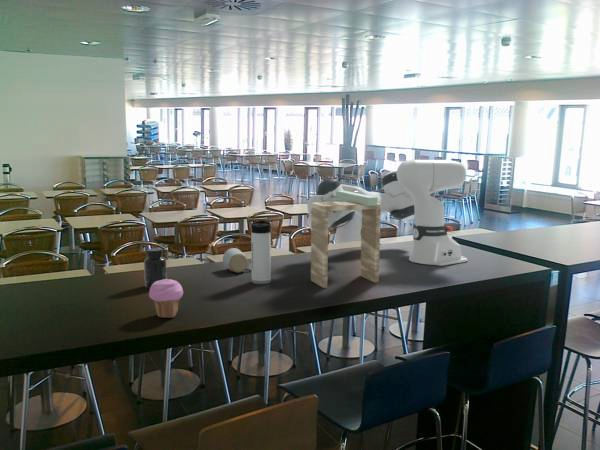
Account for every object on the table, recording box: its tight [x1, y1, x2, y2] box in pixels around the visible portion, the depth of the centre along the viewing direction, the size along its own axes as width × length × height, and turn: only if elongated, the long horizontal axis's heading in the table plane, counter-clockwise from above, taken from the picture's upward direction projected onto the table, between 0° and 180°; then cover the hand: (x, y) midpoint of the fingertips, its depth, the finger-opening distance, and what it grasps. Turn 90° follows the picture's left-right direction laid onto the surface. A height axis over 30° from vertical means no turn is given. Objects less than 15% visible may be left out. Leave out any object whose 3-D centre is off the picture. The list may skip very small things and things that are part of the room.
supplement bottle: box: [143, 247, 168, 290], centre depth 174 cm, size 7×7×12 cm
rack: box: [310, 201, 381, 289], centre depth 181 cm, size 20×10×26 cm, turn 111°
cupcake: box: [148, 278, 184, 319], centre depth 146 cm, size 9×9×10 cm
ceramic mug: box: [222, 247, 252, 274], centre depth 197 cm, size 11×8×8 cm
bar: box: [336, 191, 377, 206], centre depth 183 cm, size 3×24×2 cm, turn 21°
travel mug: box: [250, 219, 272, 285], centre depth 180 cm, size 6×7×20 cm
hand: (344, 193), depth 191 cm, fingers open, 8 cm apart
